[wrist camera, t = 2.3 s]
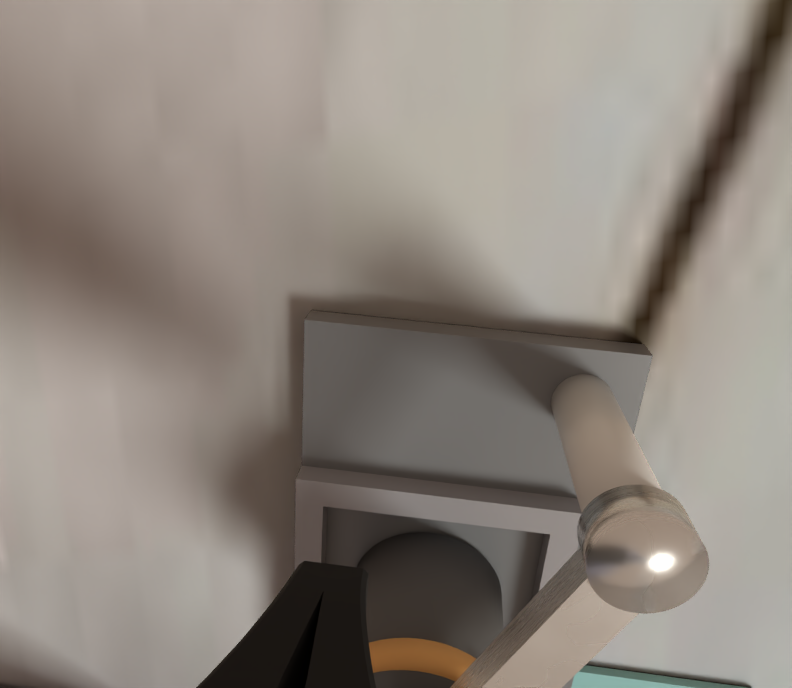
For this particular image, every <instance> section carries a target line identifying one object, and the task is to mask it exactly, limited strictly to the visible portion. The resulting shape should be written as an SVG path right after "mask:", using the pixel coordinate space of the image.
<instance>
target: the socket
mask: <svg viewBox="0 0 792 688" xmlns="http://www.w3.org/2000/svg"><path fill="white" fill-rule="evenodd" d="M652 357H653V356H652V354H651V353H650V352H649V350H648V349H647V347H646V346H645V345H644V344H635V343H626V342H616V341H606V340H596V339H587V338H577V337H567V336H557V335H548V334H538V333H528V332H518V331H509V330H499V329H489V328H479V327H470V326H460V325H450V324H440V323H431V322H421V321H411V320H401V319H392V318H382V317H372V316H362V315H353V314H343V313H333V312H323V311H314V310H311V311H310V313H309V314H308V316H307V317H306V318H305V320H304V369H303V422H302V466H301V468H300V470H299V473H298V475H297V477H296V489H295V556H294V571H295V570H296V568H297V567H298V565H299V564H300V563H302V562H303V561H311V562H319V563H326V564H334V565H342V566H350V567H357V565H358V563H359V561H360V560H361V558H362V557H363V556H364V554H365V553H366V552H367V551H368V550H369V549H371V548H372V547H373V546H375V545H376V544H378V543H379V542H381V541H383V540H385V539H388V538H390V537H393V536H396V535H400V534H405V533H413V532H427V533H436V534H441V535H445V536H449V537H452V538H455V539H457V540H460V541H462V542H464V543H466V544H468V545H469V546H471V547H472V548H474V549H475V550H477V551H478V552H479V553H480V554H481V555H483V556H484V557H485V558H486V560H487V561H488V562H489V563H490V564H491V566H492V567H493V569H494V570H495V572H496V574H497V576H498V578H499V582H500V585H501V593H502V610H503V628H504V629H505V628H506V626H507V625H508V624H509V623H510V622H511V621H512V620H513V619H514V618H515V617H516V616H517V615H518V614H519V612H520V611H521V610H522V609H523V608H524V607H525V606H526V605H527V604H528V603H529V602H530V601H531V600H532V598H533V597H534V596H535V595H536V594H537V593H538V592H539V591H540V590H541V589H542V588H543V587H544V586H545V584H546V583H547V582H548V581H549V580H550V579H551V578H552V577H553V576H554V575H555V574H556V573H557V572H558V570H559V569H560V568H561V567H562V566H563V565H564V564H565V563H566V562H567V561H568V560H569V559H570V558H571V556H572V555H573V554H574V553H575V552H576V551H577V550H578V549H579V548H580V545H579V542H578V538H577V526H578V521H579V518H580V516H581V514H582V512H583V510H584V509H585V508H586V506H587V505H588V504H589V503H590V502H591V501H592V500H593V499H595V498H596V497H597V496H599V495H600V494H602V493H604V492H606V491H608V490H610V489H613V488H616V487H620V486H625V485H647V486H652V487H656V488H659V489H661V487H660V485H659V483H658V481H657V479H656V477H655V475H654V473H653V471H652V469H651V468H650V466H649V464H648V462H647V460H646V458H645V456H644V454H643V452H642V450H641V448H640V446H639V444H638V442H637V440H636V438H635V436H634V430H635V426H636V422H637V418H638V414H639V410H640V406H641V402H642V397H643V393H644V389H645V385H646V381H647V377H648V373H649V369H650V365H651V361H652ZM661 490H662V489H661ZM573 679H574V676H573V677H572V678H571V679H570V680H569V681H568V682H567V683H566V684H565V685H564V686H563V687H562V688H571V687H572V683H573Z"/></svg>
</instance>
